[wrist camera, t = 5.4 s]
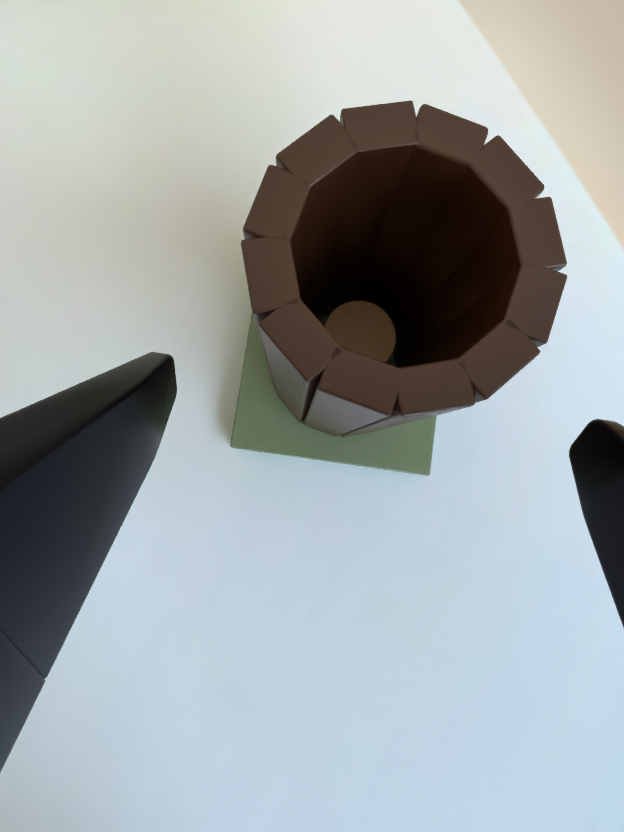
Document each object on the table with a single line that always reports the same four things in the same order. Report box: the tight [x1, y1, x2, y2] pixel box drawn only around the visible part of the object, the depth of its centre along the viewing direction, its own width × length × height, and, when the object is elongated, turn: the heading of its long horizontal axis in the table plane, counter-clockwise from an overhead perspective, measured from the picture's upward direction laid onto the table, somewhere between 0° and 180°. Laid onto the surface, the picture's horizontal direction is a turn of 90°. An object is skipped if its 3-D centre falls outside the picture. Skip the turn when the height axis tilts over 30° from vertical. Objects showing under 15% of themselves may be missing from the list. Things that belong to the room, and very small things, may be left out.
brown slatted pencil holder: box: [241, 101, 567, 437], centre depth 13 cm, size 7×7×10 cm
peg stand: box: [230, 301, 436, 476], centre depth 16 cm, size 9×9×5 cm
